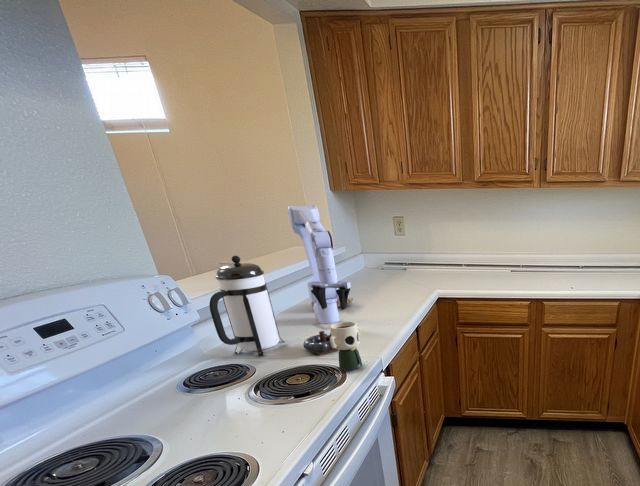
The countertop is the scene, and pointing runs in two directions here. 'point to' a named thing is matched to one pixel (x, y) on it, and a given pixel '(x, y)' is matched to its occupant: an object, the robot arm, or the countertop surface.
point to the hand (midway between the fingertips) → (334, 308)
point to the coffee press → (245, 307)
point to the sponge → (339, 301)
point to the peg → (323, 339)
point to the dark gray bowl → (318, 343)
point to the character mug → (346, 344)
